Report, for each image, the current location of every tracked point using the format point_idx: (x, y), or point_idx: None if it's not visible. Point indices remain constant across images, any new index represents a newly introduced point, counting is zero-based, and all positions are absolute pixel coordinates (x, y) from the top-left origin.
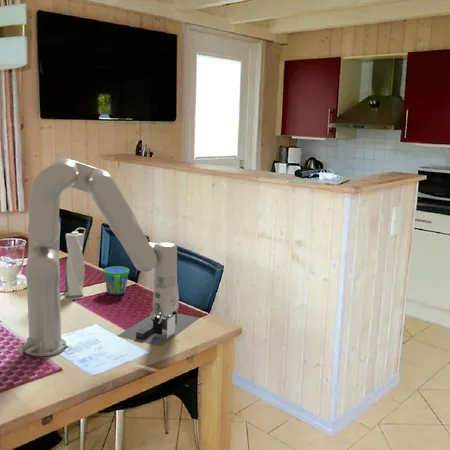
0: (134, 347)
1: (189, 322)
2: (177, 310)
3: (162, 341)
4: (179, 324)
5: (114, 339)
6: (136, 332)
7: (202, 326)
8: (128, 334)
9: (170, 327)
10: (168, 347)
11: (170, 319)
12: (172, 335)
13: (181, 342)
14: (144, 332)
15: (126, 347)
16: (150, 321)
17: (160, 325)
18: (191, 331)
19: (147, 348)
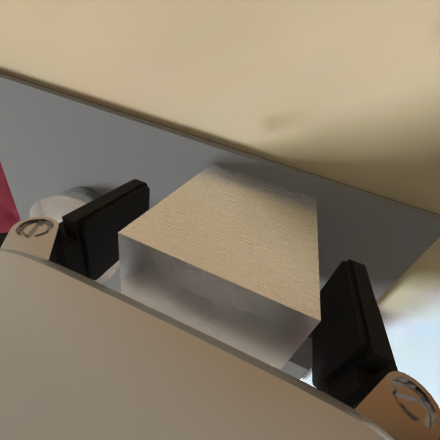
0: (399, 338)
1: (41, 111)
2: (23, 221)
3: (347, 223)
4: (90, 162)
5: (305, 382)
6: (309, 366)
7: (24, 8)
8: None
9: (257, 216)
10: (417, 167)
11: (240, 268)
12: (243, 174)
13: (310, 84)
14: (310, 340)
15: (397, 363)
16: None
17: (378, 340)
18: (117, 65)
19: (422, 287)
